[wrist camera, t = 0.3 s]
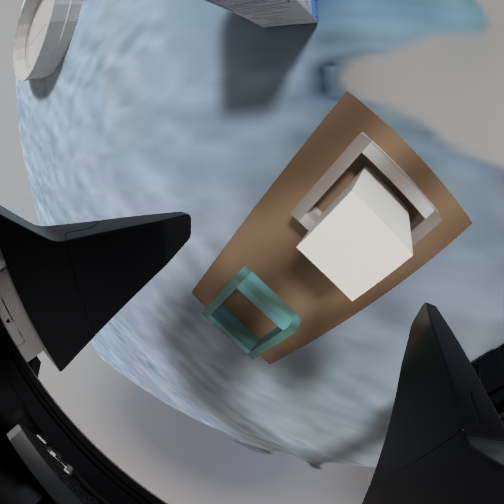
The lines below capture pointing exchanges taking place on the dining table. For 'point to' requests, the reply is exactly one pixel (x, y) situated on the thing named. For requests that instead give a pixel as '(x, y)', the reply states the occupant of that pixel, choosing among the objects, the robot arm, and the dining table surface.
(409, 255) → the plug
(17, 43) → the dish
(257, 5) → the medicine box
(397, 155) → the socket board
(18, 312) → the robot arm
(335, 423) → the dining table surface
